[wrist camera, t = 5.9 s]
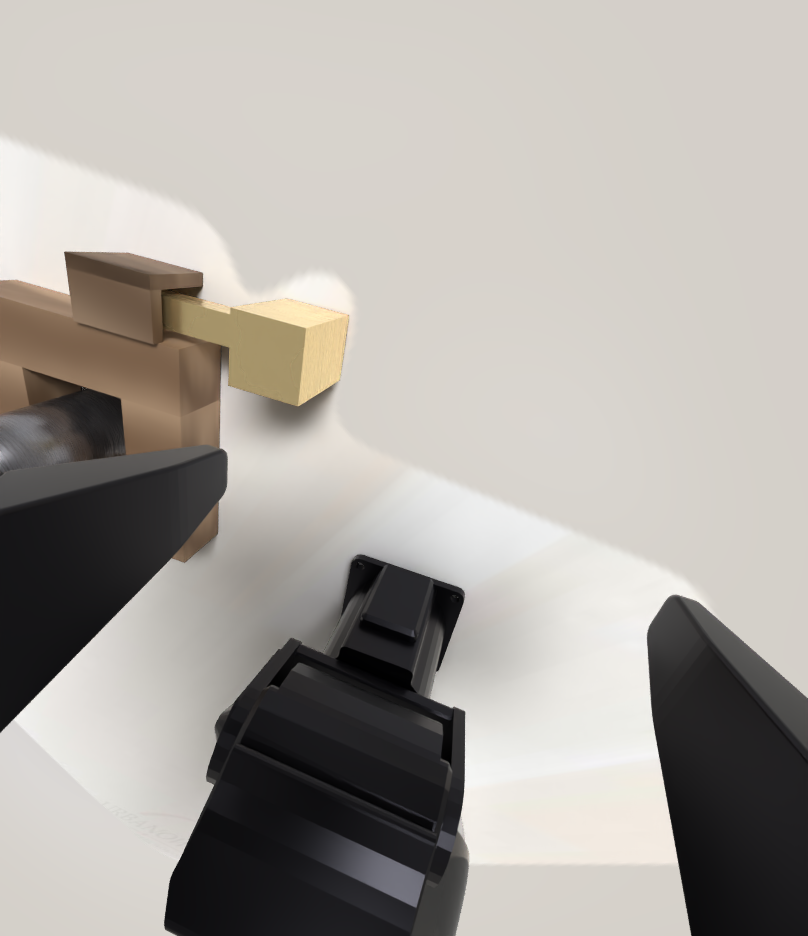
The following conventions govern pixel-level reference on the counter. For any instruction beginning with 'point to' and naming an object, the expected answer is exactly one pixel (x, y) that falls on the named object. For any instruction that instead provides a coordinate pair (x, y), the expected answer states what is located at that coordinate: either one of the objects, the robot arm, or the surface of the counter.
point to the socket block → (115, 355)
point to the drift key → (267, 342)
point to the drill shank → (62, 431)
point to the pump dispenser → (445, 895)
